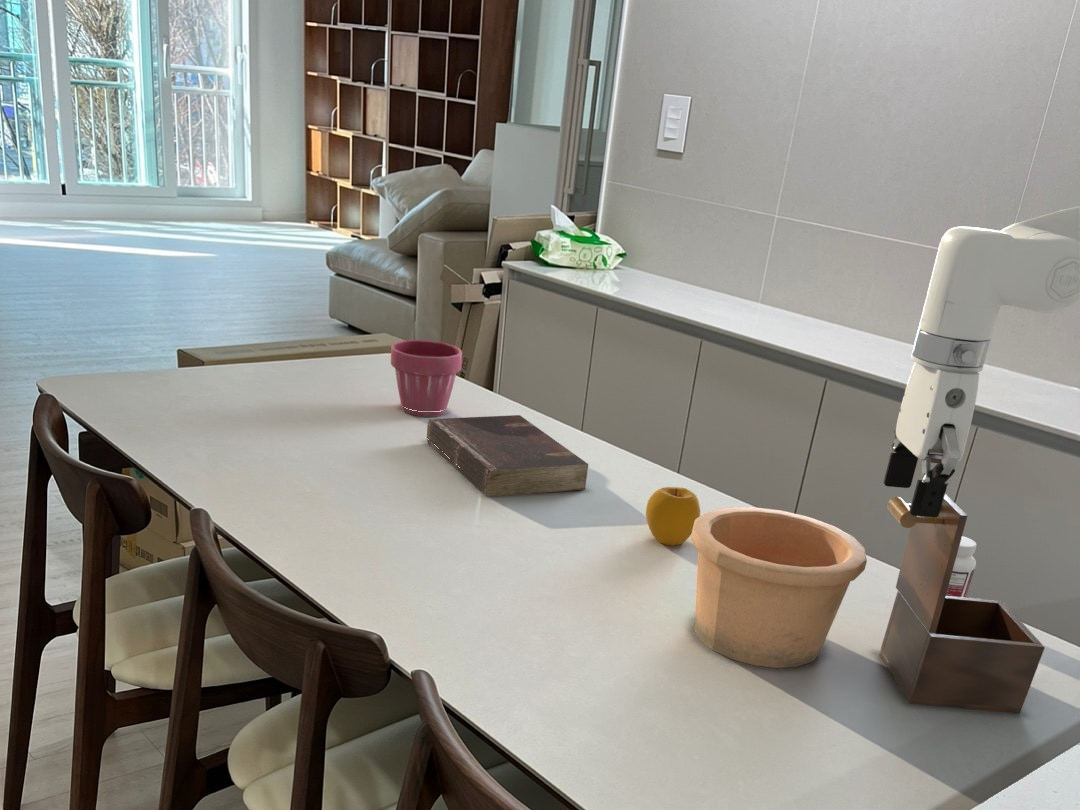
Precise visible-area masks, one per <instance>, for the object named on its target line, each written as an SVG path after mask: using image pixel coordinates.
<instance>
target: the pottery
mask: <svg viewBox="0 0 1080 810" xmlns="http://www.w3.org/2000/svg"><path fill="white" fill-rule="evenodd" d="M690 541H691V542H692V544H693V546H694V547H695V548H696V550H697V566H696V585H695V586H696V590H695V611H694V626H693V630H694V633H695V634H696V636H697V638H698V639H699V640H700V642H702V643H703V644H704V645H705V646H706V647H708V648H709V649H711V650H712V651H713V652H715V653H717V654H719V655H722V656H724V657H726V658H728V659H730V660H733V661H736V662H740V663H743V664H747V665H750V666H756V667H762V668H763V667H765V668H773V669H784V668H797V667H801V666H803V665H807V664H809V663H812V662H814V660H816V658H817V657H819V656H820V654H821V651H822V649H823V646H824V644H825V642H826V640H827V637H828V634H829V632H830V630H831V627H832V625H833V623H834V621H835V619H836V616H837V614H838V611H839V609H840V607H841V604H842V602H843V600H844V598H845V595H846V593H847V591H848V589H849V586H850V584H851V582H852V581H855V580H856V579H857V578H858V577H859V576H860V575H862V573H863V572H864V571H865V570H866V566H867V562H868V560H867V553H866V548H865V546H863V545H862V544H861V543H860V542H859V541H858V540H857V539H856V537H854V536H853V535H851V534H849V533H847V532H845V531H844V530H842V529H840V528H838V527H837V526H834V525H832V524H829V523H826V522H823V521H821V520H818V519H816V518H812V517H809V516H806V515H803V514H799V513H798V514H797V513H794V512H790V511H785V510H780V509H772V508H763V507H753V506H748V507H724V508H719V509H714V510H709V511H707V512H705V513H703V514H702V515H701V514H700V517H698V518H696V520H695V522H694V526H693V529H692V534H691V535H690Z"/></svg>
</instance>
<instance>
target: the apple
mask: <svg viewBox="0 0 1080 810" xmlns="http://www.w3.org/2000/svg"><path fill="white" fill-rule="evenodd" d="M645 507H646V509H645V517H646V518H645V519H646V524H647V526H648V529H649V531H650V533H651V535H652V537H654V539H655V540H656V541H657V542H658V543H659V544H662V545H664V546H671V547H672V546H673V547H674V546H678V545H679V546H680V545H681V544H683V543H685V542H686V541H687V540H688V539H689V538H691V534H692V529H693V526H694V522H695V520H696V518H698V517H700V516H701V507H700V501H699V499H698V496H697V494H695V493H694V492H692V491H691V490H689V489H688V488H686V487H679V486H677V487H676V486H665V487H661V488H658V489H657V490H655V491H654V492H653V493H652V495H651V496H649V499H648V500H647V503H646V506H645Z"/></svg>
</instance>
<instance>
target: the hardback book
mask: <svg viewBox="0 0 1080 810" xmlns="http://www.w3.org/2000/svg"><path fill="white" fill-rule="evenodd" d="M426 428H427V429H426V440H427V444H428V445H429V446H430V447H432V449H433V450H434V451H436V452H437V453H438V454H439V455H440V456H441V457H442V458H443V459H444V460H446V461H447V463H449V465H451V466H452V467H453V468H454V469H455V470H456V471H457V472H458V473H459V474H461V475H462V476H463V477H464V478H465V479H466V480H467V481H468V482H470V484H472V486H474V487H475V488H476V489H477V490H478V491H479V492H480V493H483V494H484V496H486V497H499V496H516V495H517V496H518V495H533V494H534V495H535V494H546V493H547V494H548V493H549V494H550V493H560V492H562V493H563V492H574V491H585V490H586V484H587V477H588V470H589V463H588V462H586V461H585V460H584V459H582V458H580V457H579V455H576V454H575V453H574V452H572V451H571V450H570V449H568V448H567V447H565V446H564V445H563V444H561V443H559V442H558V441H557V440H556V439H554V438H553V437H551V436H550V435H549V434H547V433H546V432H545V431H543V430H542V429H540V428H539V427H538V426H536V425H534V424H533V423H532V422H530V421H529V420H527V419H526V418H525V417H523V416H522V415H520V414H515V415H514V414H513V415H512V414H511V415H493V416H492V415H491V416H469V417H468V416H467V417H466V416H465V417H447V418H446V417H445V418H429V419H428V422H427V427H426ZM427 438H428V439H429V440H428V439H427ZM434 444H435V445H436V446H437V447H438V448H439V449H438V448H437V447H436V446H435V445H434ZM442 451H443V452H442ZM444 453H445V454H446V455H447V456H448V457H449V458H450V459H449V458H448V457H447V456H446V455H445V454H444ZM456 464H457V465H456ZM458 466H459V467H460V468H459V467H458Z"/></svg>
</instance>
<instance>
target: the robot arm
mask: <svg viewBox="0 0 1080 810" xmlns="http://www.w3.org/2000/svg"><path fill="white" fill-rule="evenodd" d="M1079 304H1080V205H1079V206H1074V207H1069V208H1065V209H1060V210H1056V211H1054V212H1049V213H1046V214H1042V215H1039V216H1036V217H1032V218H1030V219H1029V218H1028V219H1026V220H1023V221H1019V222H1016V223H1013V224H1010V225H1009V226H1006V227H1004V228H1002V229H1001V230H996V229H990V228H984V227H983V228H982V227H973V226H956V227H952V228H950V229H948V230H946V232H945V233H944V234H943V235H942V237H941V240H940V242H939V245H938V250H937V253H936V257H935V261H934V265H933V269H932V273H931V276H930V281H929V284H928V289H927V293H926V297H925V301H924V304H923V308H922V313H921V317H920V321H919V325H918V329H917V332H916V335H915V336H916V337H915V340H914V345H913V347H912V348H913V349H912V353H911V356H910V360H911V361H912V362H914V363H913V366H912V368H911V372H910V375H909V377H908V381H907V384H906V387H905V390H904V394H903V397H902V401H901V404H900V408H899V410H898V415H897V420H896V426H895V429H894V436H895V437H894V438H895V439H894V440H893V441H892V443H891V448H890V449H891V452H890V456H889V459H888V463H887V467H886V470H885V475H884V478H883V485H884V486H885V487H891V488H900V489H901V488H902V489H909V488H911V486H912V484H913V481H914V475H915V472H916V469H917V465H918V461H919V460H920V461H921V479H917V480H916V485H915V489H914V492H913V496H912V499H911V507H910V511H909V512H910V514H911V515H913V516H923V517H937V516H938V515H939V513H940V509H941V506H942V502H943V499H944V495H945V494H946V491H947V487H948V485H950V484H951V479H952V476H953V475H954V473H955V472H956V467H957V465H958V463H959V462H960V461H962V459H963V457H964V454H965V450H966V446H967V442H968V438H969V435H970V430H971V426H972V421H973V416H974V411H975V407H976V402H977V396H978V389H979V381H980V380H979V379H980V372H982V371H983V369H984V365H985V362H986V358H987V356H988V351H989V347H990V344H991V340H992V337H993V333H994V328H995V326H996V323H997V319H998V317H999V313H1000V309H1001V307H1002V306H1009V307H1014V308H1019V309H1022V310H1027V311H1030V312H1036V313H1041V314H1057V313H1061V312H1064V311H1067V310H1070V309H1073V308H1074V307H1076V306H1078V305H1079ZM931 464H935V466H933V468H932V465H931Z"/></svg>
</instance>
